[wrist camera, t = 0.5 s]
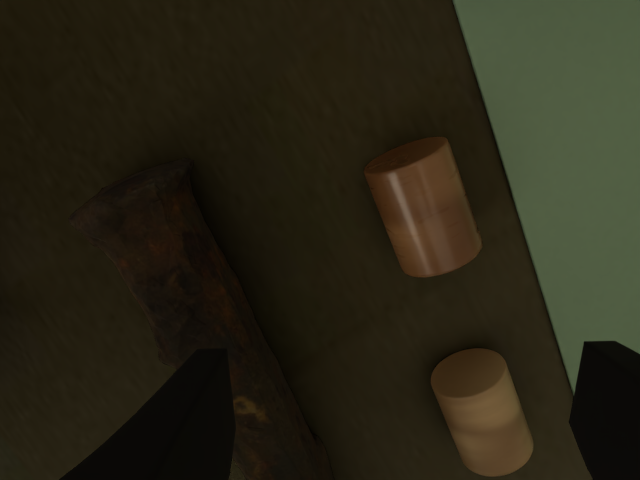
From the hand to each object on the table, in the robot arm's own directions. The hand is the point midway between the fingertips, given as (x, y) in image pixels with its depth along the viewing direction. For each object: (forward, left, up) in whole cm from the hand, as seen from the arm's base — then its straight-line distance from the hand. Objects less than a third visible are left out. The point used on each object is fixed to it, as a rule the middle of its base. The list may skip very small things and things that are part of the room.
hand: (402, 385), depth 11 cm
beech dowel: (+2, -9, -10) cm, 14 cm away
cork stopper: (+2, 0, -10) cm, 11 cm away
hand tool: (-6, -4, -11) cm, 13 cm away
